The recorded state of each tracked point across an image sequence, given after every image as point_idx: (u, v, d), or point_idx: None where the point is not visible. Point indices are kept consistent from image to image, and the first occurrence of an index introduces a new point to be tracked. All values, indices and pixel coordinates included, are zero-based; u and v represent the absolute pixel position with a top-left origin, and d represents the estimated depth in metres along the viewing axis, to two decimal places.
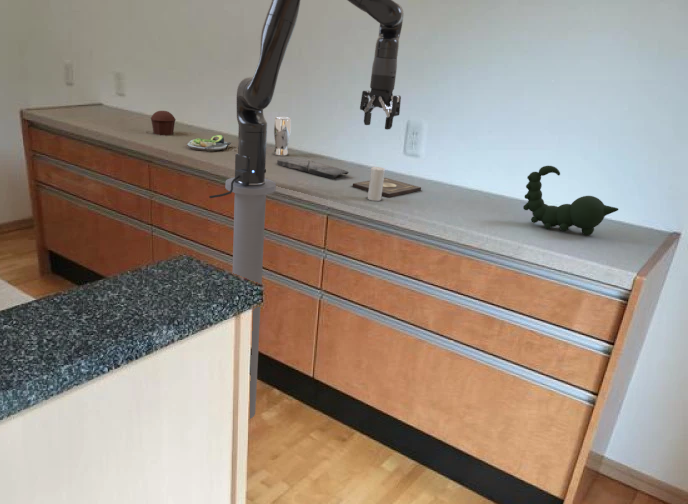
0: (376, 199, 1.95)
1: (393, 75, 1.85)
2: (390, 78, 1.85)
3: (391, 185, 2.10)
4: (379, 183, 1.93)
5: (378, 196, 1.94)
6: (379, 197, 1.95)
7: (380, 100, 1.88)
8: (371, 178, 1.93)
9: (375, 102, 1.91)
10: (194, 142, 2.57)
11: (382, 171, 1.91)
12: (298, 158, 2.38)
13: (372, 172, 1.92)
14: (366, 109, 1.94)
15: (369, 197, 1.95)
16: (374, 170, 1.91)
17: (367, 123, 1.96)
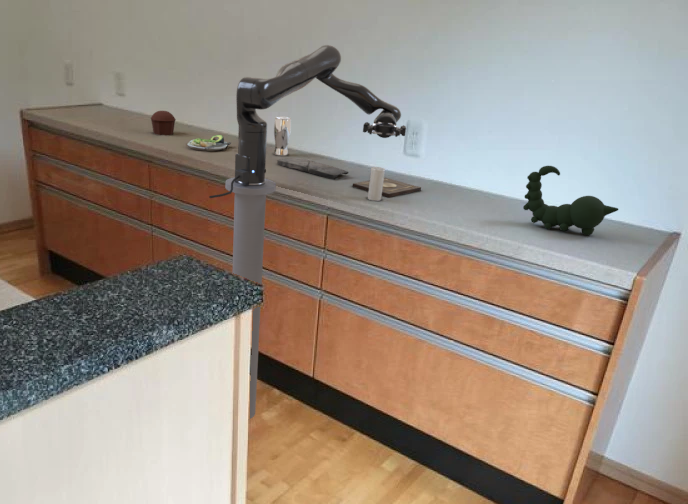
0: (376, 199, 1.95)
1: None
2: None
3: (391, 185, 2.10)
4: (379, 183, 1.93)
5: (378, 196, 1.94)
6: (379, 197, 1.95)
7: (389, 123, 2.05)
8: (371, 178, 1.93)
9: (381, 125, 2.05)
10: (194, 142, 2.57)
11: (382, 171, 1.91)
12: (298, 158, 2.38)
13: (372, 172, 1.92)
14: (371, 125, 2.03)
15: (369, 197, 1.95)
16: (374, 170, 1.91)
17: (371, 130, 2.00)
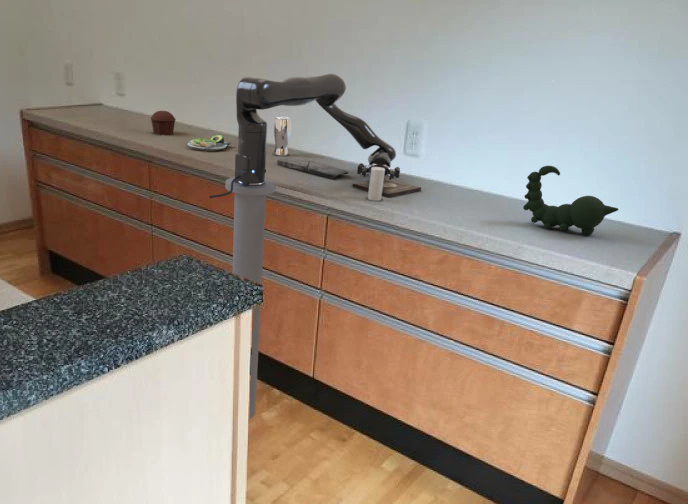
0: (376, 199, 1.95)
1: (390, 167, 2.14)
2: (390, 164, 2.12)
3: (391, 185, 2.10)
4: (379, 183, 1.93)
5: (378, 196, 1.94)
6: (379, 197, 1.95)
7: (384, 164, 2.06)
8: (371, 178, 1.93)
9: None
10: (194, 142, 2.57)
11: (382, 171, 1.91)
12: (298, 158, 2.38)
13: (372, 172, 1.92)
14: (366, 167, 2.04)
15: (369, 197, 1.95)
16: (374, 170, 1.91)
17: (366, 172, 2.01)
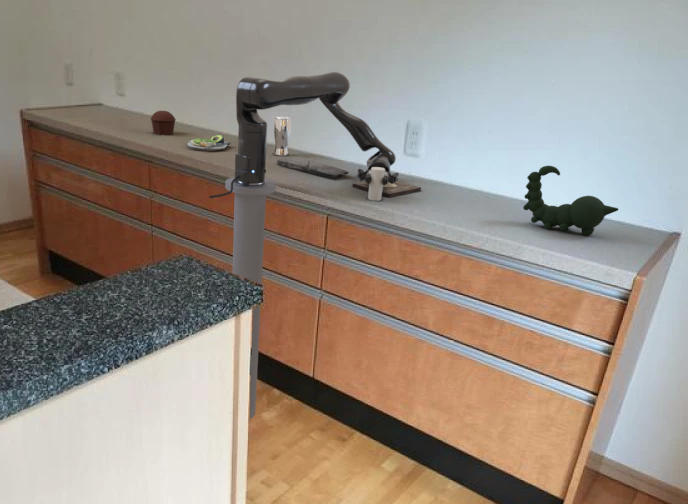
0: (376, 199, 1.95)
1: None
2: (389, 168, 2.05)
3: (391, 185, 2.10)
4: (379, 183, 1.93)
5: (378, 196, 1.94)
6: (379, 197, 1.95)
7: None
8: (371, 178, 1.93)
9: None
10: (194, 142, 2.57)
11: (382, 171, 1.91)
12: (298, 158, 2.38)
13: (372, 172, 1.92)
14: (369, 173, 1.96)
15: (369, 197, 1.95)
16: (374, 170, 1.91)
17: (369, 179, 1.92)
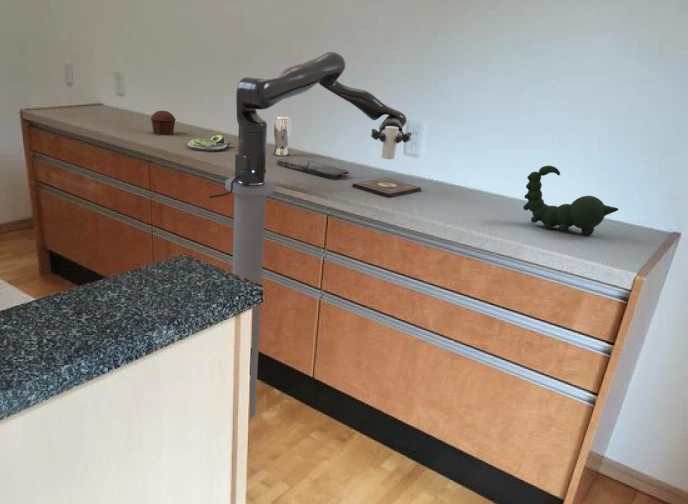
0: (390, 157, 2.00)
1: None
2: (402, 129, 2.11)
3: (391, 185, 2.10)
4: (392, 141, 1.98)
5: (391, 154, 2.00)
6: (393, 155, 2.00)
7: None
8: (385, 137, 1.99)
9: None
10: (194, 142, 2.57)
11: (396, 129, 1.97)
12: (298, 158, 2.38)
13: (386, 131, 1.98)
14: (383, 132, 2.02)
15: (383, 155, 2.01)
16: (388, 128, 1.97)
17: (383, 137, 1.98)
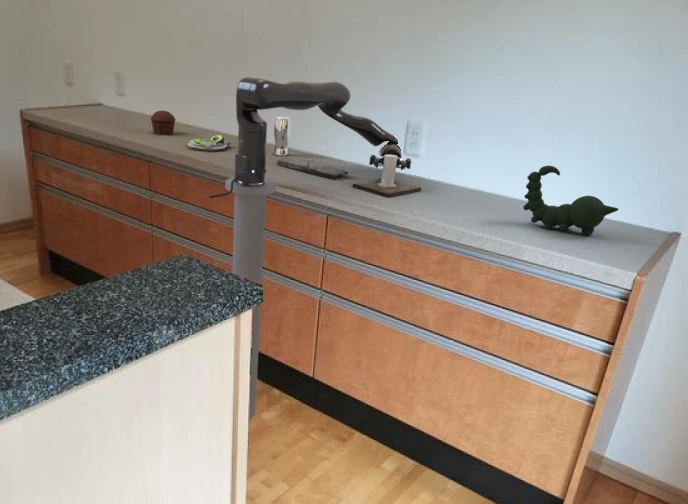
0: (389, 184, 2.08)
1: None
2: None
3: None
4: (391, 169, 2.06)
5: (390, 181, 2.08)
6: (392, 182, 2.08)
7: None
8: (384, 165, 2.07)
9: None
10: (194, 142, 2.57)
11: (395, 158, 2.05)
12: (298, 158, 2.38)
13: (385, 159, 2.06)
14: (378, 158, 2.10)
15: (382, 183, 2.09)
16: (387, 157, 2.05)
17: (378, 163, 2.07)
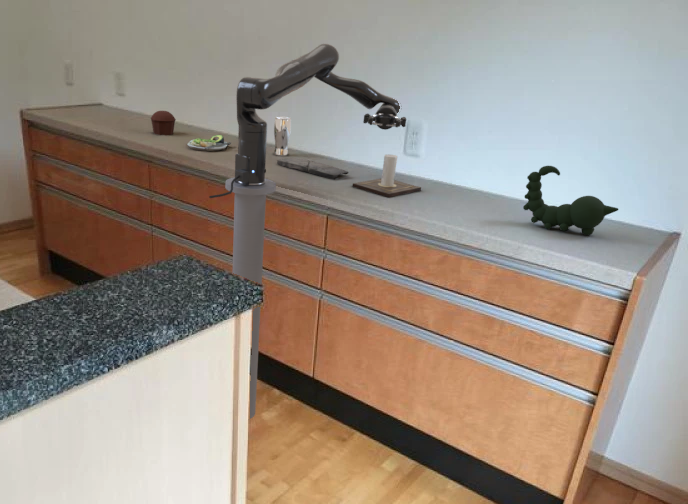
0: (389, 184, 2.08)
1: None
2: (396, 115, 2.13)
3: None
4: (391, 169, 2.06)
5: (390, 181, 2.08)
6: (392, 182, 2.08)
7: (390, 114, 2.06)
8: (384, 165, 2.07)
9: (382, 116, 2.06)
10: (194, 142, 2.57)
11: (395, 158, 2.05)
12: (298, 158, 2.38)
13: (385, 159, 2.06)
14: (372, 116, 2.04)
15: (382, 183, 2.09)
16: (387, 157, 2.05)
17: (372, 120, 2.01)
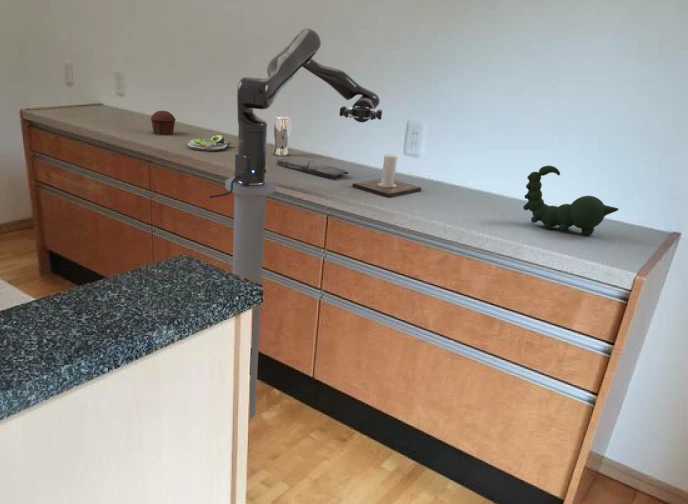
0: (389, 184, 2.08)
1: None
2: (373, 107, 2.13)
3: None
4: (391, 169, 2.06)
5: (390, 181, 2.08)
6: (392, 182, 2.08)
7: (366, 107, 2.07)
8: (384, 165, 2.07)
9: (358, 109, 2.06)
10: (194, 142, 2.57)
11: (395, 158, 2.05)
12: (298, 158, 2.38)
13: (385, 159, 2.06)
14: None
15: (382, 183, 2.09)
16: (387, 157, 2.05)
17: (347, 113, 2.01)
